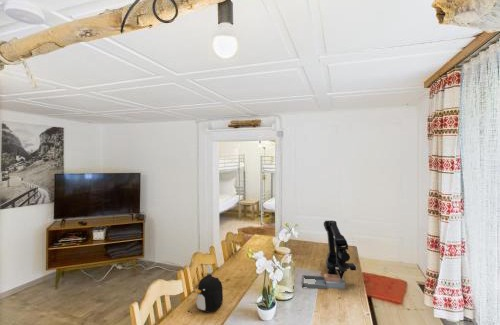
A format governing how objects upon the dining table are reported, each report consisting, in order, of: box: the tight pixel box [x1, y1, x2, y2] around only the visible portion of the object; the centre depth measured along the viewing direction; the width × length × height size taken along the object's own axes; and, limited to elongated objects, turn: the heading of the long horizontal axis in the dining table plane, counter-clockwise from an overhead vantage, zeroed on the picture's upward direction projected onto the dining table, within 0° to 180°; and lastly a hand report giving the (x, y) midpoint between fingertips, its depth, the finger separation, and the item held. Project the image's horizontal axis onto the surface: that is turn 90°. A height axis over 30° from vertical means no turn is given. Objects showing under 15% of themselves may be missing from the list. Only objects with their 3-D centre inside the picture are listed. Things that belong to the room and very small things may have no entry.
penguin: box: [195, 274, 224, 312], centre depth 153 cm, size 18×18×17 cm
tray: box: [301, 274, 328, 290], centre depth 178 cm, size 14×16×2 cm
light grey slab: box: [325, 277, 346, 290], centre depth 175 cm, size 10×12×4 cm
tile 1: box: [323, 273, 332, 281], centre depth 176 cm, size 5×5×2 cm
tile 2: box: [331, 274, 340, 282], centre depth 175 cm, size 5×5×2 cm
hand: (341, 278), depth 175 cm, fingers closed
